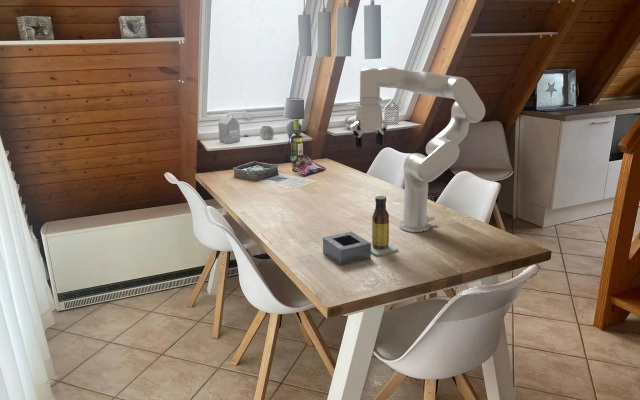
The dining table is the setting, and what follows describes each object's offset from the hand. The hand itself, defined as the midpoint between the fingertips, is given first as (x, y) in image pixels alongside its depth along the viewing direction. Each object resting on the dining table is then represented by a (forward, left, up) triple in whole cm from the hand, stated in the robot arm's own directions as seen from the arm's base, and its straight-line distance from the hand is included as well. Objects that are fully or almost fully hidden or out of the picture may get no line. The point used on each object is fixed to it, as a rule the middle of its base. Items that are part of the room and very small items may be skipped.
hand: (369, 145), depth 191 cm
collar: (+20, +16, -36) cm, 44 cm away
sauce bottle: (+6, +17, -36) cm, 40 cm away
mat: (+6, +17, -36) cm, 40 cm away
